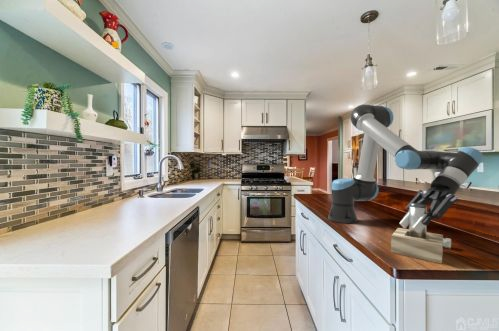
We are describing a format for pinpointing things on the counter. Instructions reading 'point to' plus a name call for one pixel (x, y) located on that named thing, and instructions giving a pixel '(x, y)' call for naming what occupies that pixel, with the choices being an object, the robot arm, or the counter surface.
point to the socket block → (417, 245)
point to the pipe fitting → (447, 243)
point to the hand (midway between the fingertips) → (408, 227)
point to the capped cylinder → (416, 219)
